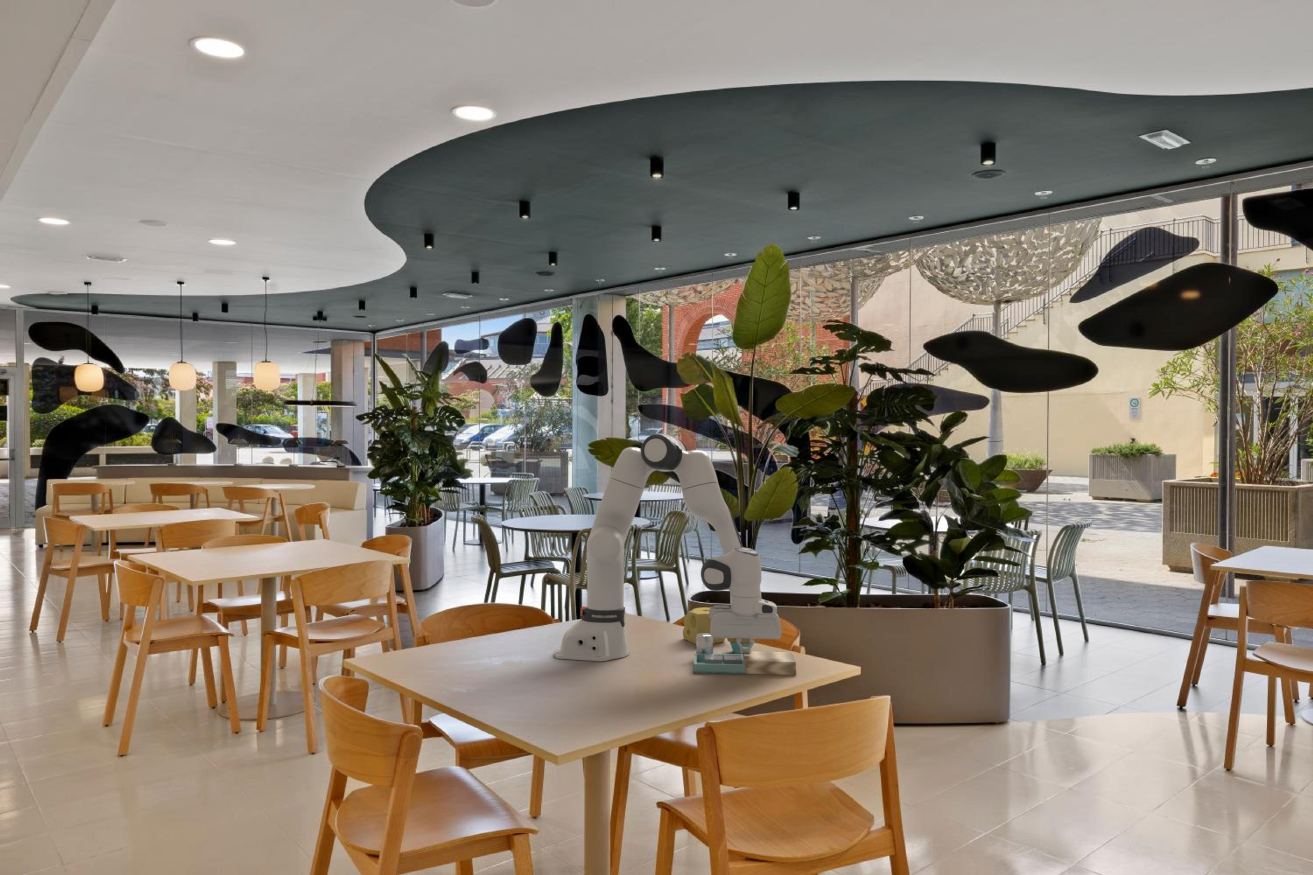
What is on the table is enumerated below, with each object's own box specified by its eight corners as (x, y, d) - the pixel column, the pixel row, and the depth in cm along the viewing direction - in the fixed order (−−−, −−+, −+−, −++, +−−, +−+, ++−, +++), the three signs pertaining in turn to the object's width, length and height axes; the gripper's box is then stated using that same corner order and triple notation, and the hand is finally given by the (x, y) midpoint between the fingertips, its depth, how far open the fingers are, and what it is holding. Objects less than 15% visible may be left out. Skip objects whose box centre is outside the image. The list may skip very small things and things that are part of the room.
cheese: (682, 639, 296) (682, 608, 296) (711, 636, 300) (711, 606, 300) (697, 645, 286) (697, 614, 286) (727, 642, 291) (727, 611, 291)
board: (745, 673, 252) (745, 661, 252) (743, 663, 264) (743, 651, 264) (795, 674, 251) (795, 661, 251) (791, 663, 263) (791, 651, 263)
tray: (694, 672, 252) (694, 663, 252) (694, 662, 265) (694, 653, 265) (745, 673, 251) (745, 664, 251) (743, 662, 264) (743, 654, 264)
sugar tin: (696, 660, 267) (696, 636, 267) (696, 656, 272) (696, 633, 272) (713, 660, 267) (713, 636, 267) (713, 656, 272) (713, 633, 272)
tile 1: (722, 659, 255) (722, 668, 255) (722, 655, 260) (722, 663, 260) (704, 659, 256) (704, 668, 256) (704, 654, 261) (704, 663, 261)
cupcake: (745, 656, 272) (745, 616, 272) (721, 652, 277) (721, 613, 277) (759, 651, 278) (759, 612, 279) (736, 647, 284) (736, 609, 284)
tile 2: (724, 668, 255) (724, 659, 255) (723, 664, 260) (723, 655, 260) (741, 668, 255) (741, 659, 255) (740, 664, 260) (740, 655, 260)
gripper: (709, 606, 255) (708, 655, 255) (782, 607, 254) (781, 657, 254) (709, 602, 261) (708, 650, 261) (780, 603, 260) (779, 651, 260)
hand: (745, 653), depth 258 cm, fingers closed
